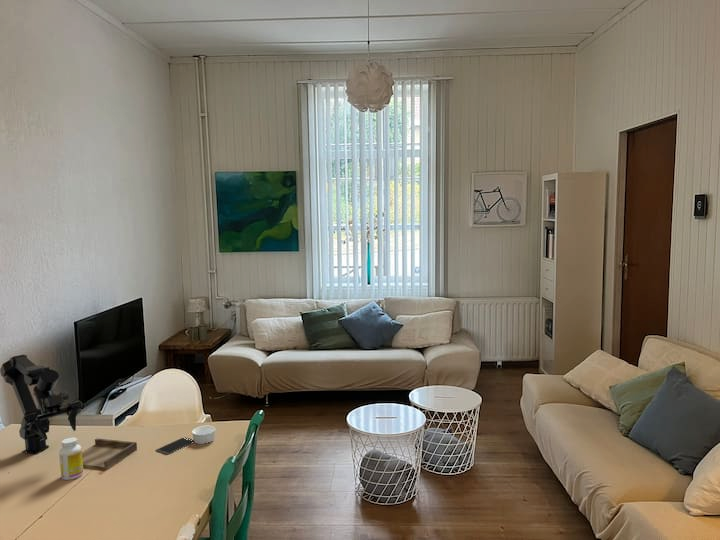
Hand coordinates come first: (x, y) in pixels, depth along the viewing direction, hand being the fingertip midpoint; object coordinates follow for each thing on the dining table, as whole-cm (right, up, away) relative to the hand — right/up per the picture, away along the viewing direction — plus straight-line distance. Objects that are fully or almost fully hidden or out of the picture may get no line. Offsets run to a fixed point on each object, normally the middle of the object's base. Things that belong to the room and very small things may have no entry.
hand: (61, 434), depth 178 cm
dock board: (+9, -12, +10) cm, 18 cm away
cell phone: (+34, -11, +19) cm, 40 cm away
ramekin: (+43, -10, +24) cm, 50 cm away
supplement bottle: (+6, -13, -3) cm, 15 cm away
